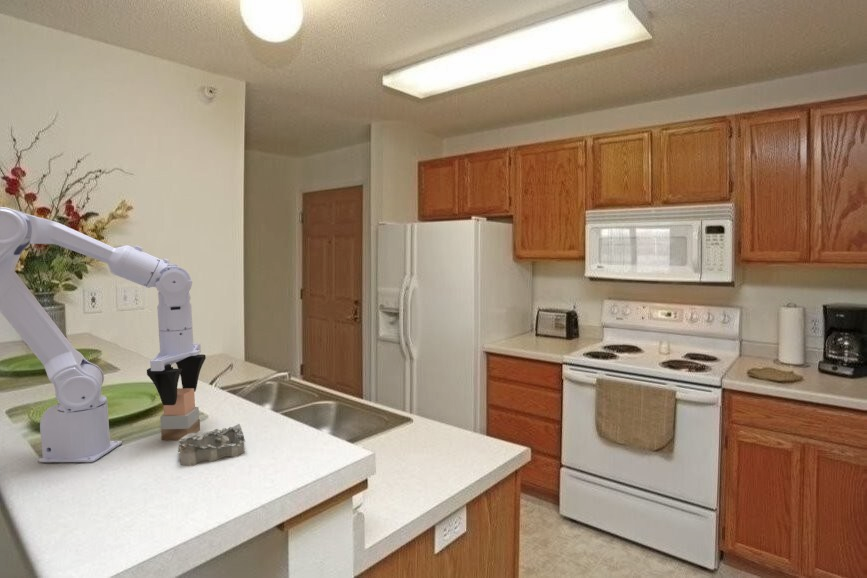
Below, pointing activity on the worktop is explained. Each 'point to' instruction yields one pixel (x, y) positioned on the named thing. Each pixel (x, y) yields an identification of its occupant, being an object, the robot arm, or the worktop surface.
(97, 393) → the robot arm
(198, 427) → the tower base
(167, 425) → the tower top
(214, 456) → the egg carton
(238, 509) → the worktop surface
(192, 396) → the terracotta cube
